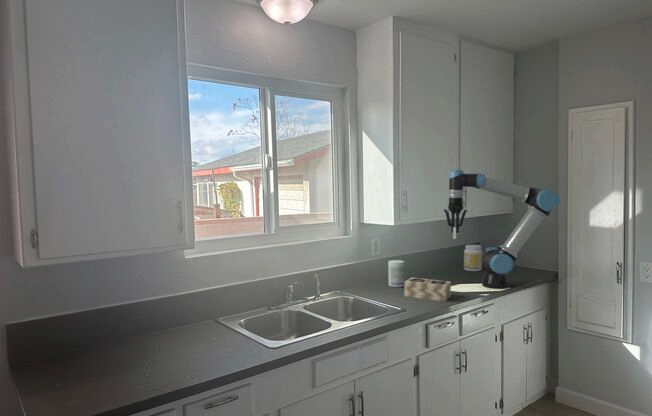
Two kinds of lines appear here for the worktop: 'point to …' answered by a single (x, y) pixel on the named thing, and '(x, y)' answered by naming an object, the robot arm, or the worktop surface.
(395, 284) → the supplement tub
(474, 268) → the supplement tub
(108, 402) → the worktop surface
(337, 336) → the worktop surface
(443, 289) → the block
